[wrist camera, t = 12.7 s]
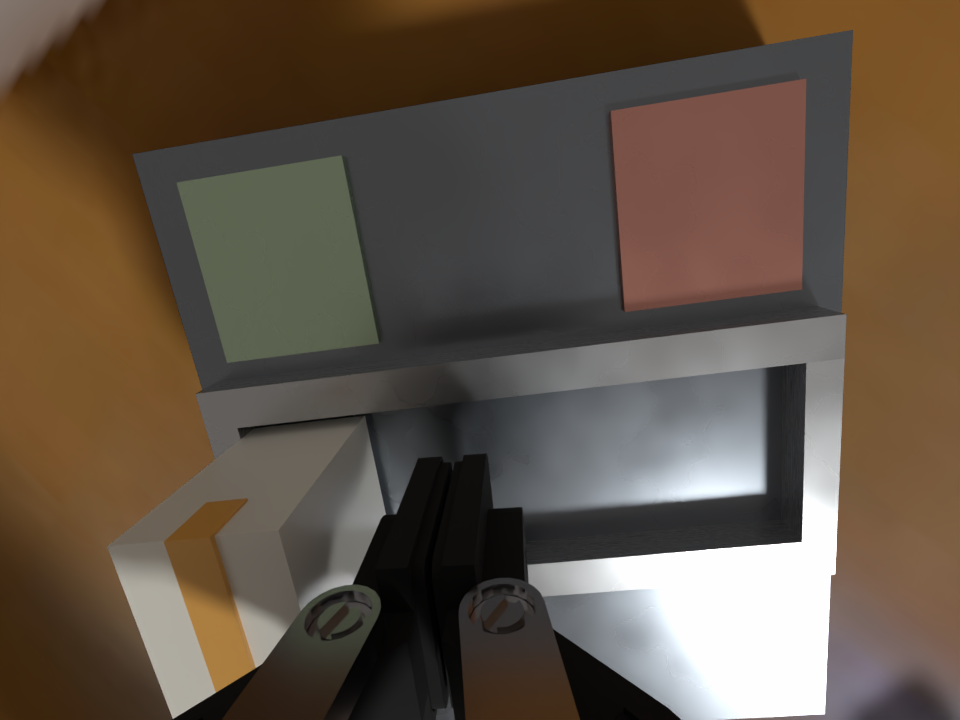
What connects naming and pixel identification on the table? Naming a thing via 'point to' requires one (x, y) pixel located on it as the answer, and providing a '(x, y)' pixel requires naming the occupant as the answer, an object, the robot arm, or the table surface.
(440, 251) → the panel
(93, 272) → the table surface
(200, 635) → the taped parcel
